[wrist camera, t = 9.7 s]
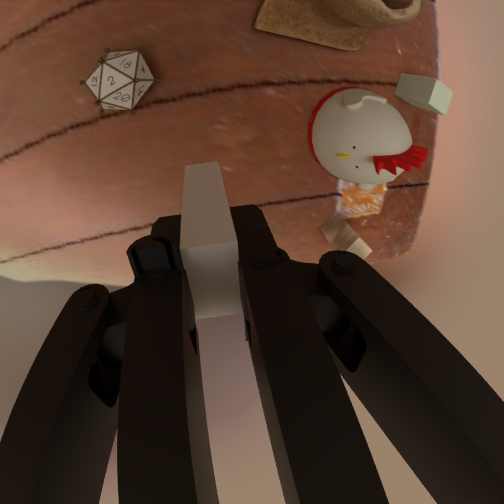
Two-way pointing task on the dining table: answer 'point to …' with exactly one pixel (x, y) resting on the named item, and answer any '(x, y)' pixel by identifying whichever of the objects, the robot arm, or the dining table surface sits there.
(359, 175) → the kitchen timer
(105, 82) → the game die
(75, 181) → the dining table surface
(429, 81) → the sage block
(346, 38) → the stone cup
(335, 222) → the birch block
